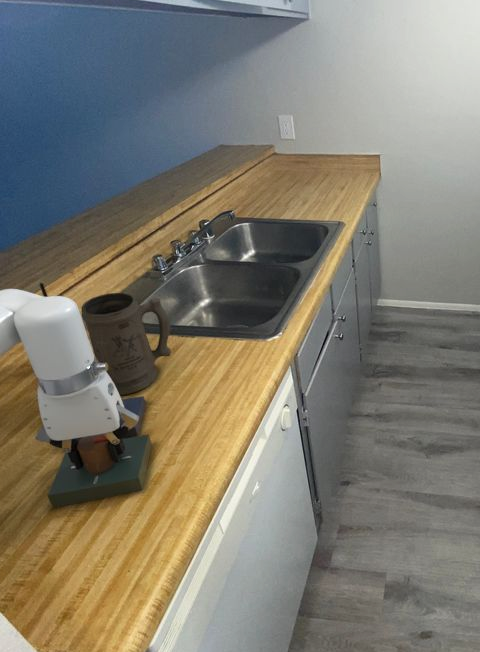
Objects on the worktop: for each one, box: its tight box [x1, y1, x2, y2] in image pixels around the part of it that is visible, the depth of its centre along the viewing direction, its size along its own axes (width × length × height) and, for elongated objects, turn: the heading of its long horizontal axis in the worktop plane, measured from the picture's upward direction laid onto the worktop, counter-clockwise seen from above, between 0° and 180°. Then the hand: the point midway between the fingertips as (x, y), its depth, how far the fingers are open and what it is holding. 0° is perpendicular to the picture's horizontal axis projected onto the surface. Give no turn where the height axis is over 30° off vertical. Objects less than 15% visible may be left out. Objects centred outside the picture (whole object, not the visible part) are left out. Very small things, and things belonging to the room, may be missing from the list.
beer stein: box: [80, 292, 172, 396], centre depth 101 cm, size 15×11×20 cm
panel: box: [47, 433, 153, 509], centre depth 81 cm, size 13×10×3 cm
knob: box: [77, 434, 115, 474], centre depth 79 cm, size 5×5×5 cm
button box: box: [76, 395, 147, 439], centre depth 91 cm, size 11×9×4 cm
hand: (100, 458), depth 80 cm, fingers closed on knob, 4 cm apart
